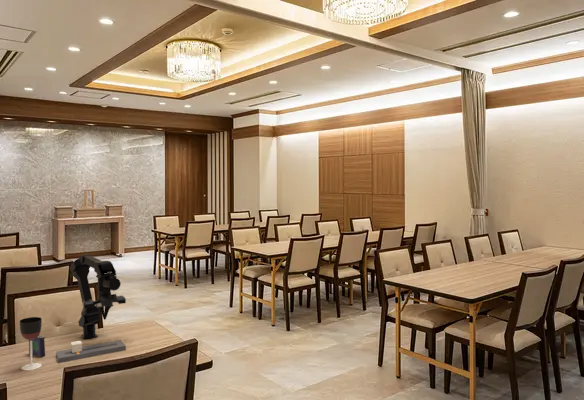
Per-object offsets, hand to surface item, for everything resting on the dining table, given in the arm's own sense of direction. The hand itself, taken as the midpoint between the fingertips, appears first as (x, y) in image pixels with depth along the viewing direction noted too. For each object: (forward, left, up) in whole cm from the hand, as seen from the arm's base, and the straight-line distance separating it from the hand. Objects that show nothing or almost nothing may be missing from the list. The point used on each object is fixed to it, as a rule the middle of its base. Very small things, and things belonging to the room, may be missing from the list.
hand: (104, 319), depth 219 cm
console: (+10, -8, -12) cm, 17 cm away
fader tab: (+10, -14, -10) cm, 19 cm away
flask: (-1, -29, -12) cm, 31 cm away
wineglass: (+13, -32, -12) cm, 36 cm away
